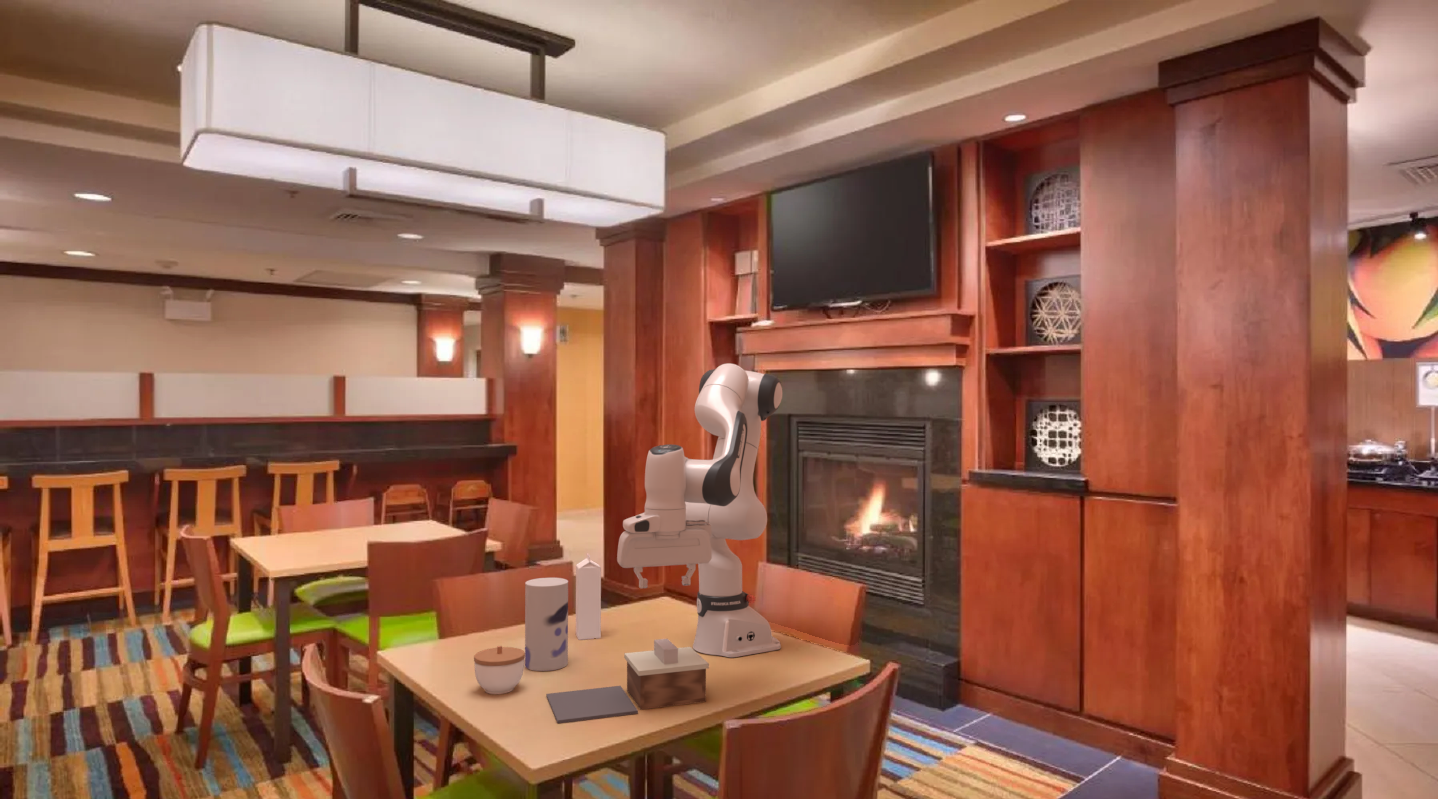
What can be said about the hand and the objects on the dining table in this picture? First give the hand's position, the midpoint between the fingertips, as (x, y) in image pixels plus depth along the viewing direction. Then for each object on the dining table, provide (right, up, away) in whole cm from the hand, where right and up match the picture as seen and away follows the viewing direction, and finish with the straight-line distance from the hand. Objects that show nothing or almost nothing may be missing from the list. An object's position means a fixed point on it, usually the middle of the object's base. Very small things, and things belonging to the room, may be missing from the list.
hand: (664, 586), depth 177 cm
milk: (-24, -24, +46) cm, 57 cm away
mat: (-15, -23, -6) cm, 28 cm away
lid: (0, -17, 0) cm, 17 cm away
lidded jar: (-36, -24, +4) cm, 43 cm away
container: (-30, -24, +21) cm, 43 cm away
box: (0, -23, 0) cm, 23 cm away
